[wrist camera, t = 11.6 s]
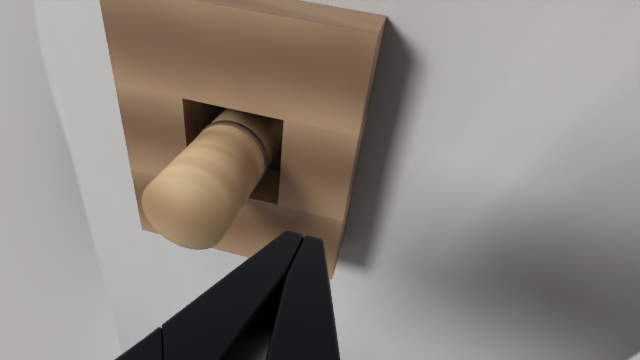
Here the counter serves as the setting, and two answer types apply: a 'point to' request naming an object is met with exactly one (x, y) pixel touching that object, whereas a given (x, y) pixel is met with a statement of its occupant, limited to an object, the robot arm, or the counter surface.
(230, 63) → the board
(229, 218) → the peg
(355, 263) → the counter surface
